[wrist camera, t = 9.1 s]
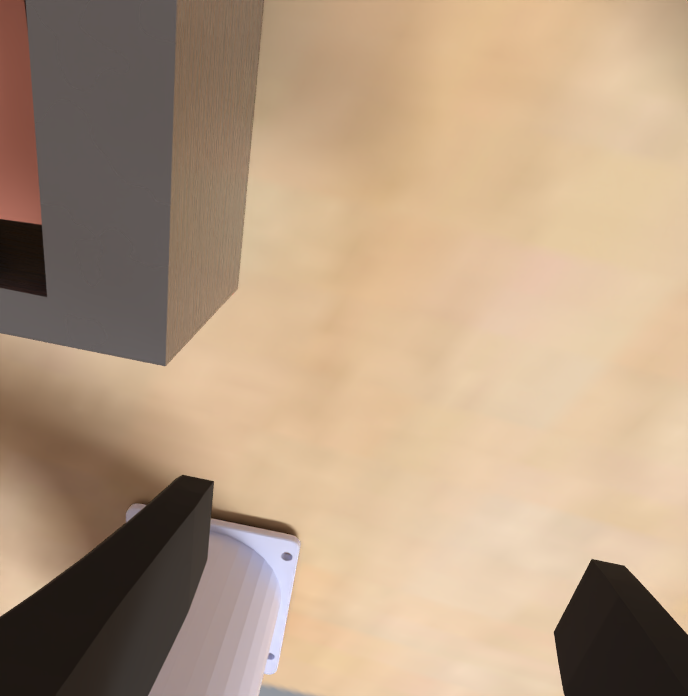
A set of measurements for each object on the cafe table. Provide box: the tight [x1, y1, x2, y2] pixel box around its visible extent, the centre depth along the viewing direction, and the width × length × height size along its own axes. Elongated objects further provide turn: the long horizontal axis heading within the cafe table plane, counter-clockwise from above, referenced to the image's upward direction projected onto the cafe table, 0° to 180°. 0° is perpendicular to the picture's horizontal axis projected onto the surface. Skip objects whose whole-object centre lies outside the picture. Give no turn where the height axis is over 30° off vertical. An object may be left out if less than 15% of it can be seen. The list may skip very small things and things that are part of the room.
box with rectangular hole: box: [0, 0, 264, 366], centre depth 14 cm, size 10×10×6 cm
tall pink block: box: [0, 0, 42, 225], centre depth 15 cm, size 5×2×5 cm, turn 173°
